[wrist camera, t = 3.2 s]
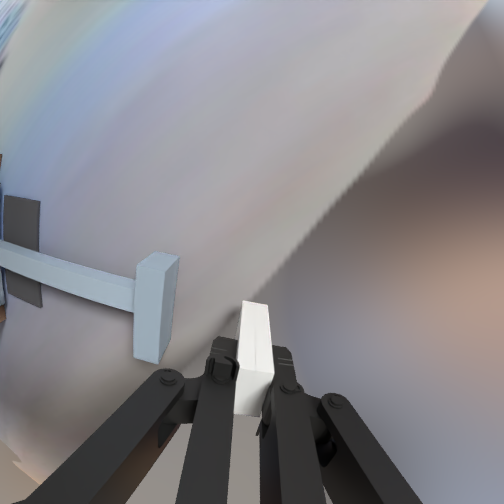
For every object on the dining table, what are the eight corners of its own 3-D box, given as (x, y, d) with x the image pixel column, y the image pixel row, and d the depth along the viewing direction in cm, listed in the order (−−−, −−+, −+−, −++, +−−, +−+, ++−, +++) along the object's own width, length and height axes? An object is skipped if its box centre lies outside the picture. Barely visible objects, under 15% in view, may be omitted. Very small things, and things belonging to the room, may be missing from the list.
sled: (-53, 176, 15) (-72, 179, 12) (187, 213, 16) (172, 221, 13) (-50, 270, 18) (-67, 278, 15) (169, 365, 19) (157, 393, 16)
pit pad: (6, 195, 16) (4, 195, 16) (40, 201, 17) (37, 201, 16) (9, 291, 19) (7, 292, 18) (42, 306, 19) (40, 307, 19)
